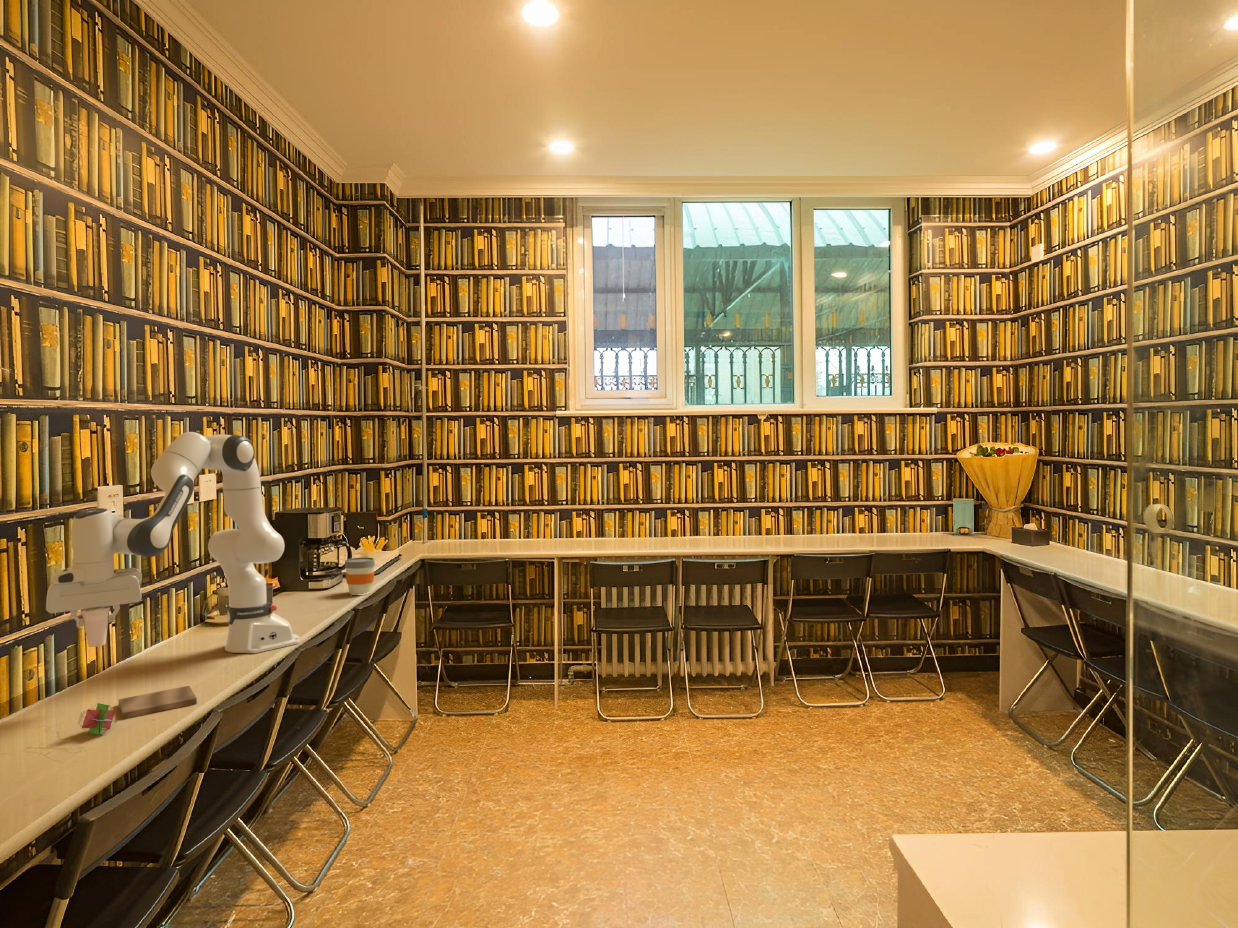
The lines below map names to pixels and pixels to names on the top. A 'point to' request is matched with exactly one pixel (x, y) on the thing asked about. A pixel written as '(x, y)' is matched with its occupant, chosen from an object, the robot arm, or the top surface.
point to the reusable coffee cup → (359, 574)
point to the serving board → (157, 701)
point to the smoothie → (96, 625)
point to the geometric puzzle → (97, 719)
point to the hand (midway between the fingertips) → (96, 624)
